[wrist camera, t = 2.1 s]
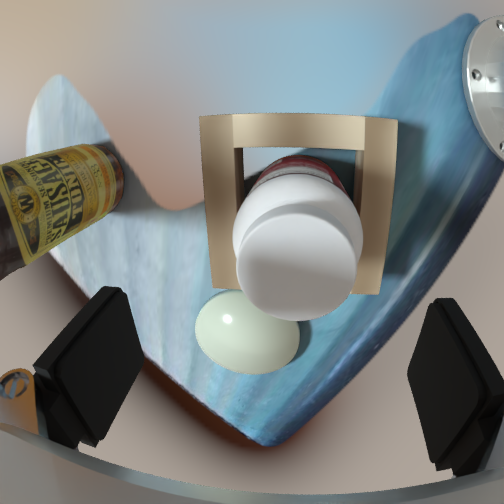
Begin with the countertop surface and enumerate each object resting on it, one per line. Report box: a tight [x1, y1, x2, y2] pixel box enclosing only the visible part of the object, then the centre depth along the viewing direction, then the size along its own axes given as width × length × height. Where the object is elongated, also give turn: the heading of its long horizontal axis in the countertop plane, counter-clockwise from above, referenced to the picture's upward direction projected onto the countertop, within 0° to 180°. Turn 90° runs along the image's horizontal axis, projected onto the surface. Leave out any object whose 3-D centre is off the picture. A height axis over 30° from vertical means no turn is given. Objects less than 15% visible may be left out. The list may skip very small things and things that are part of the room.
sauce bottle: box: [0, 144, 124, 280], centre depth 14 cm, size 6×6×20 cm
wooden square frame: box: [199, 113, 398, 294], centre depth 20 cm, size 12×12×3 cm
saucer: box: [195, 289, 300, 375], centre depth 27 cm, size 9×9×1 cm
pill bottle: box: [233, 155, 363, 321], centre depth 17 cm, size 6×6×11 cm
